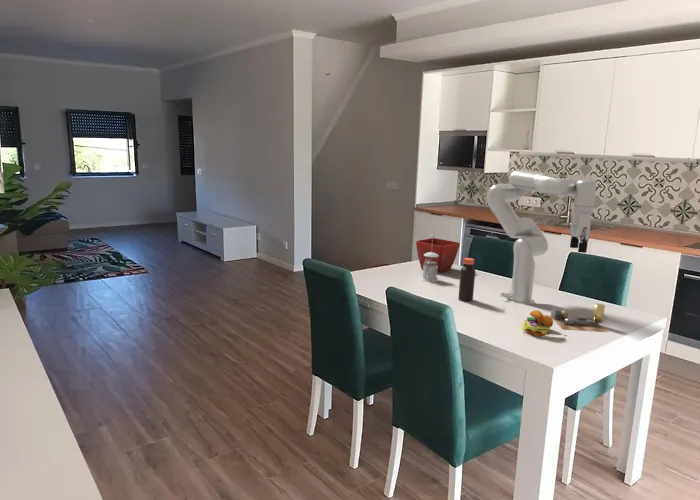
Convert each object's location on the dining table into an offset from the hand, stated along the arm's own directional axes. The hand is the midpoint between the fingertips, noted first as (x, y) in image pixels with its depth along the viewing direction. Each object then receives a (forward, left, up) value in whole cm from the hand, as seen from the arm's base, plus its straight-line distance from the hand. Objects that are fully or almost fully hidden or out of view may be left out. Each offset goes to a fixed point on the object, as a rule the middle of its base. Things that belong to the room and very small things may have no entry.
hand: (577, 250), depth 215 cm
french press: (-57, +53, -31) cm, 84 cm away
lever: (+1, -11, -29) cm, 31 cm away
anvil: (-7, -5, -29) cm, 30 cm away
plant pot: (-51, +79, -31) cm, 99 cm away
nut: (-4, -5, -29) cm, 30 cm away
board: (0, -10, -30) cm, 32 cm away
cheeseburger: (-20, -21, -31) cm, 42 cm away
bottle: (-42, +19, -31) cm, 55 cm away
